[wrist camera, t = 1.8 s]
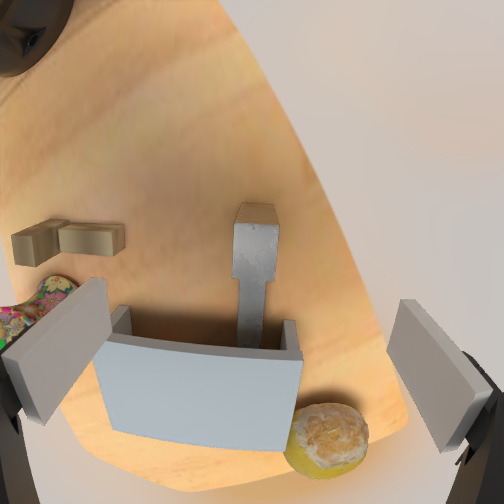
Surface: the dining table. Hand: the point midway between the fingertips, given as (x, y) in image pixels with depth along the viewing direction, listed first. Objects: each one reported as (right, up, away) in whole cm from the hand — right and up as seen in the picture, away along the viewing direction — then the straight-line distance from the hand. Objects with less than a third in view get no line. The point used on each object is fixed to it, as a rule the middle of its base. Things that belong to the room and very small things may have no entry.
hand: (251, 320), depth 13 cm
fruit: (+9, -18, +25) cm, 32 cm away
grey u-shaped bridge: (-5, -9, +22) cm, 25 cm away
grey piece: (-2, -2, +20) cm, 20 cm away
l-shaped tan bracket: (-18, +5, +18) cm, 26 cm away
